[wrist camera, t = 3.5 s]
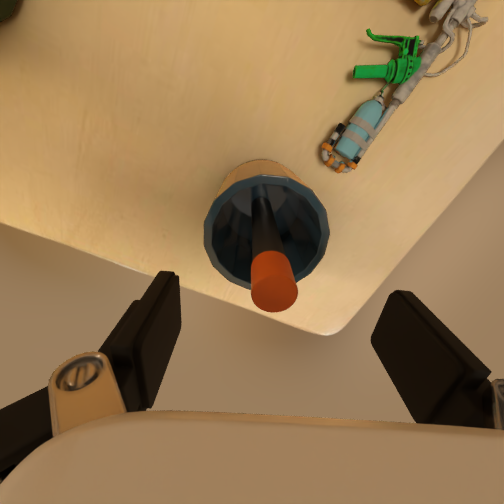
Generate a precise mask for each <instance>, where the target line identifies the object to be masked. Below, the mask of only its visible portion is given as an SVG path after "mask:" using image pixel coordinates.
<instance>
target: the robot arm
mask: <svg viewBox="0 0 504 504" xmlns="http://www.w3.org/2000/svg"><path fill="white" fill-rule="evenodd" d="M180 329H181V305H180V285H179V276H178V275H175V273H174V272H171V271H159V273H158V274H157V276H156V277H155V279H154V280H153V282H152V283H151V285H150V286H149V287H148V289H147V291H146V292H145V293H144V295H143V297H142V298H141V299H140V300H135V301H133V303H132V304H131V305H130V307H129V308H128V309H127V311H126V312H125V314H124V315H123V317H122V318H121V319H120V321H119V322H118V323H117V325H116V327H115V328H114V329H113V330H112V332H111V333H110V335H109V336H108V338H107V339H106V340H105V342H104V343H103V345H102V346H101V348H100V349H99V350H98V352H94V351H93V352H85V353H82V354H79V355H76V356H74V357H72V358H70V359H68V360H66V361H65V362H64V363H62V364H61V365H59V367H58V368H57V369H56V370H55V371H54V372H53V373H52V376H51V377H50V379H49V383H48V386H47V387H45V388H43V389H41V390H39V391H37V392H35V393H33V394H31V395H29V396H27V397H25V398H23V399H21V400H18V401H17V402H15V403H13V404H11V405H8V406H6V407H4V408H3V409H1V410H0V504H504V379H495V380H494V381H492V382H490V381H489V380H488V379H487V377H488V376H489V375H490V373H491V371H490V370H489V369H488V368H487V367H486V366H485V365H484V364H483V363H482V362H481V361H480V360H479V359H478V358H477V357H476V356H475V355H474V354H473V353H472V352H471V351H470V350H469V349H468V348H467V347H466V346H465V345H464V344H463V343H462V342H461V341H460V340H459V339H458V338H457V337H456V336H455V335H454V334H453V333H452V332H451V331H450V330H449V329H448V328H447V327H446V326H445V325H444V324H443V323H442V322H441V321H440V320H439V319H438V318H437V317H436V316H435V315H434V314H433V313H432V312H431V311H430V310H429V309H428V308H427V307H426V306H425V305H424V304H423V303H422V302H421V301H420V300H419V299H418V298H417V297H416V296H415V295H414V294H413V293H412V292H410V291H402V290H396V291H394V292H393V293H391V294H390V295H389V297H388V299H387V301H386V304H385V306H384V308H383V311H382V313H381V315H380V318H379V320H378V322H377V324H376V327H375V329H374V332H373V334H372V336H371V344H372V346H373V348H374V350H375V351H376V353H377V355H378V357H379V359H380V360H381V362H382V364H383V366H384V367H385V369H386V371H387V373H388V375H389V376H390V378H391V380H392V382H393V384H394V385H395V387H396V389H397V391H398V392H399V394H400V396H401V398H402V400H403V401H404V403H405V405H406V407H407V408H408V410H409V412H410V414H411V416H412V417H413V419H414V420H415V422H416V423H402V422H387V421H371V420H353V419H336V418H320V417H302V416H284V415H265V414H264V415H263V414H246V413H227V412H201V411H172V410H170V411H146V409H147V408H152V406H153V404H154V401H155V398H156V395H157V393H158V390H159V387H160V385H161V382H162V379H163V376H164V374H165V371H166V368H167V366H168V363H169V360H170V357H171V355H172V352H173V349H174V346H175V344H176V341H177V338H178V335H179V333H180Z"/></svg>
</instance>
